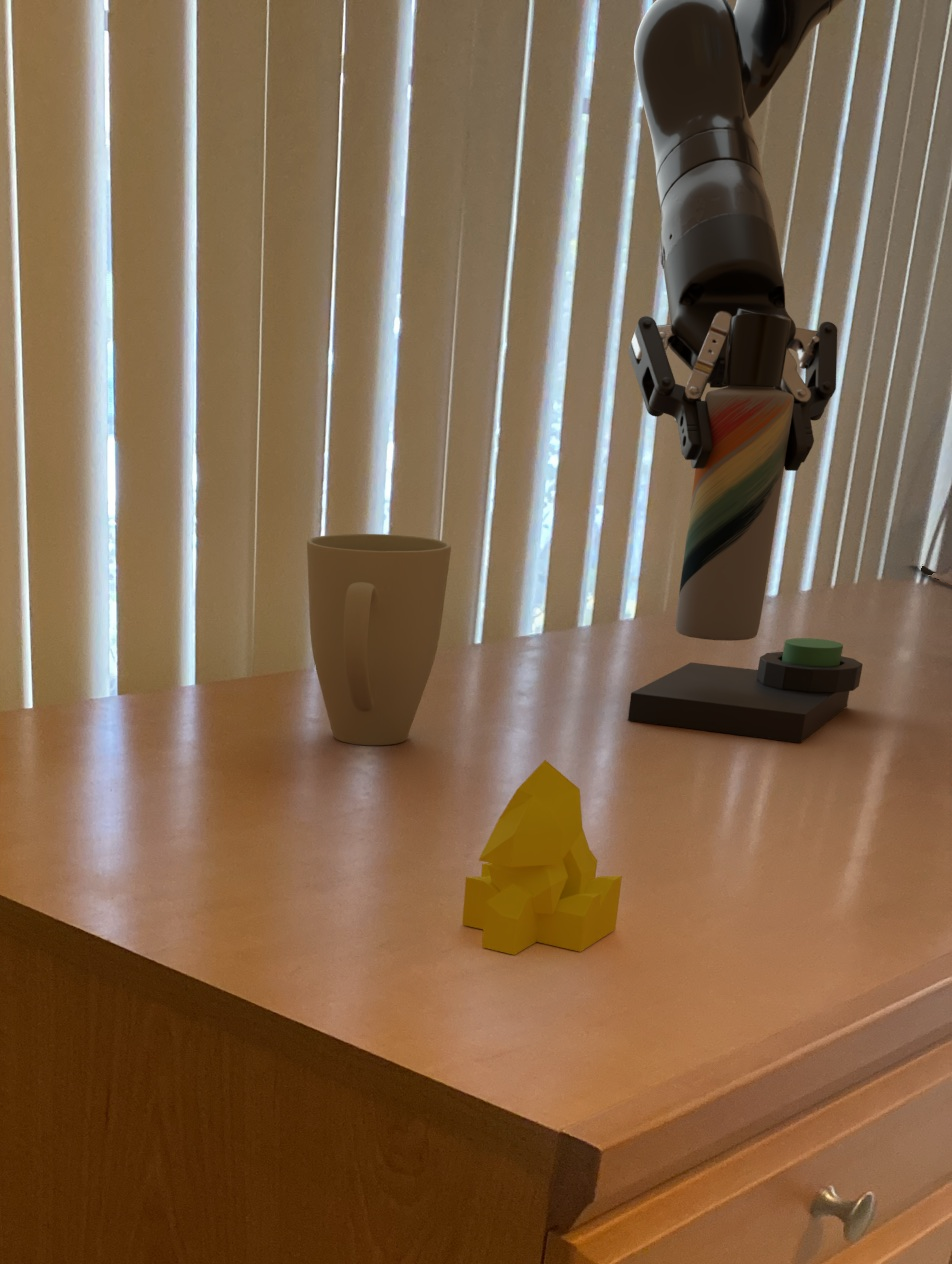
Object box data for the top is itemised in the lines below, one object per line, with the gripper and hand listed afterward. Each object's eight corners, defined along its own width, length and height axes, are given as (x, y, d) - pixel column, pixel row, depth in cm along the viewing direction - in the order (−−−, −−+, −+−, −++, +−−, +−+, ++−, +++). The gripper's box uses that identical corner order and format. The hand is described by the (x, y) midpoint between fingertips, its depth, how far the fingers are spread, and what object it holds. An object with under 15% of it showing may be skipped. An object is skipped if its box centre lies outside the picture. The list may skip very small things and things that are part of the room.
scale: (688, 686, 125) (695, 639, 123) (861, 707, 119) (870, 658, 118) (627, 720, 113) (633, 668, 112) (814, 745, 108) (824, 691, 106)
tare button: (789, 658, 119) (792, 636, 118) (844, 664, 117) (848, 642, 116) (775, 666, 116) (778, 643, 115) (832, 672, 114) (836, 650, 113)
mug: (265, 729, 108) (268, 536, 103) (393, 717, 112) (403, 531, 107) (345, 767, 100) (354, 558, 94) (481, 752, 104) (497, 552, 98)
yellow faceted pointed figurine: (634, 917, 75) (656, 748, 72) (559, 965, 70) (579, 784, 66) (520, 893, 78) (535, 729, 75) (439, 937, 72) (451, 762, 69)
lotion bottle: (689, 624, 117) (732, 307, 107) (767, 633, 114) (818, 309, 105) (662, 635, 112) (704, 306, 103) (743, 644, 110) (794, 308, 100)
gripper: (632, 205, 107) (659, 416, 102) (843, 212, 108) (880, 421, 103) (602, 297, 114) (626, 499, 109) (800, 303, 115) (833, 502, 110)
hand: (750, 460), depth 106 cm, fingers closed on lotion bottle, 5 cm apart
